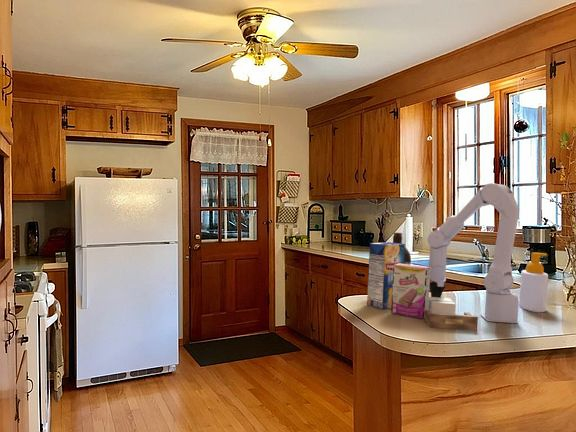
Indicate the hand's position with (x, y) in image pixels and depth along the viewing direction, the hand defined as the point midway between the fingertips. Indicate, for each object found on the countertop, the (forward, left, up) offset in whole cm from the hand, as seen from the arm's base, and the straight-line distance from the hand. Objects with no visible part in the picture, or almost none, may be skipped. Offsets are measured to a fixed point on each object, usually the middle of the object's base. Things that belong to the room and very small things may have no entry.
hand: (435, 303), depth 169 cm
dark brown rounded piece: (+13, -11, -2) cm, 17 cm away
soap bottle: (-36, -8, -2) cm, 37 cm away
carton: (0, +9, -2) cm, 9 cm away
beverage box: (+18, +3, -2) cm, 18 cm away
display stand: (0, +24, -1) cm, 24 cm away
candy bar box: (+11, +15, -2) cm, 18 cm away
